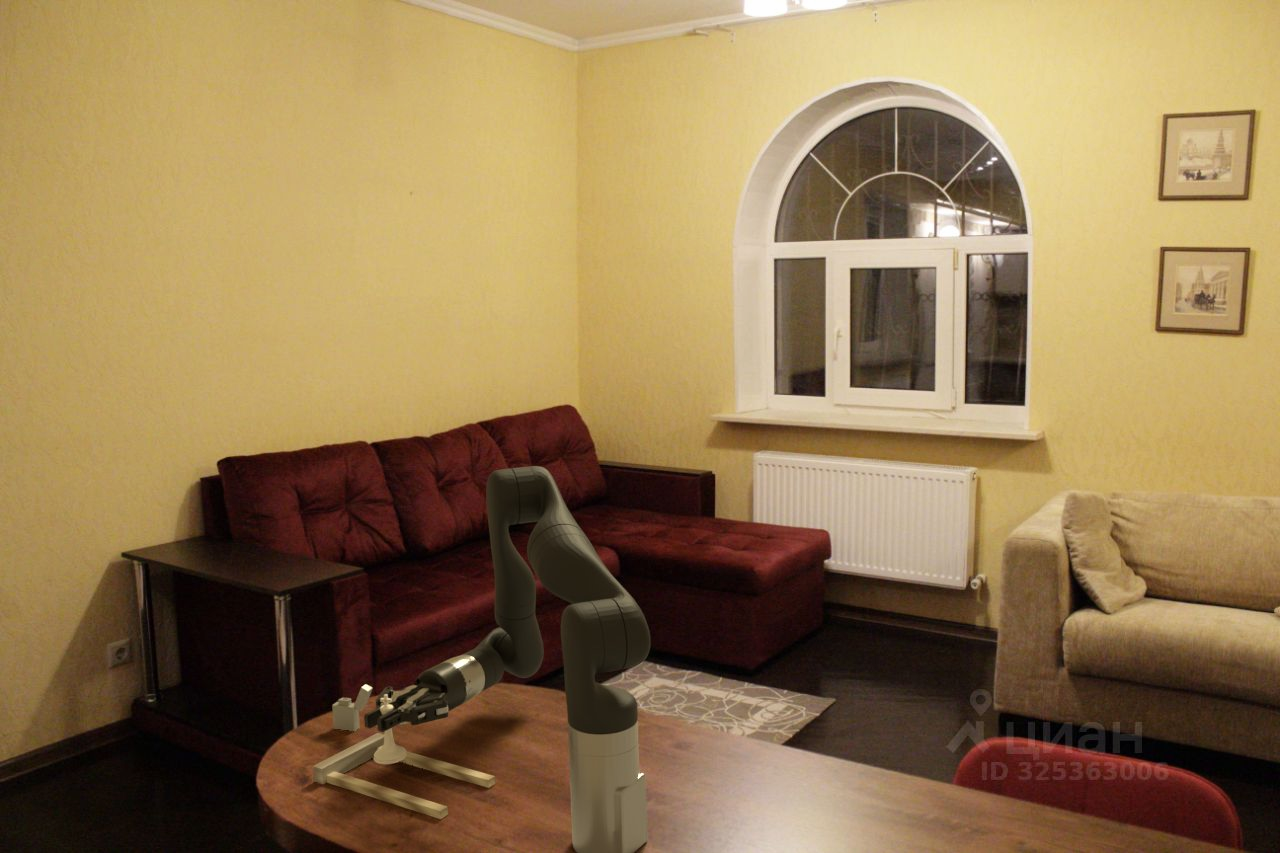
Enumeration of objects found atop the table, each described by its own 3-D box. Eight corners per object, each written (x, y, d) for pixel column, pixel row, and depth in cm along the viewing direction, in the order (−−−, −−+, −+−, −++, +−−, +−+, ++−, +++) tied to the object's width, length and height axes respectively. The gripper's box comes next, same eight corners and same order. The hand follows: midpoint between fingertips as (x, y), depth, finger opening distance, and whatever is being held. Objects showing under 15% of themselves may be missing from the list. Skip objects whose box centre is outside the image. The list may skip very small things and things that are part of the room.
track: (498, 781, 158) (497, 766, 158) (437, 821, 147) (436, 804, 147) (378, 747, 171) (377, 732, 171) (313, 781, 160) (312, 766, 160)
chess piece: (398, 765, 158) (393, 702, 156) (367, 763, 159) (363, 700, 157) (411, 750, 163) (407, 689, 161) (382, 748, 164) (377, 687, 162)
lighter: (333, 729, 179) (330, 684, 178) (339, 725, 181) (335, 680, 180) (370, 733, 177) (367, 687, 176) (375, 729, 179) (372, 684, 178)
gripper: (418, 655, 175) (338, 691, 160) (482, 669, 168) (404, 708, 153) (420, 698, 176) (341, 738, 161) (484, 713, 169) (408, 757, 154)
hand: (373, 723), depth 157 cm, fingers closed on chess piece
